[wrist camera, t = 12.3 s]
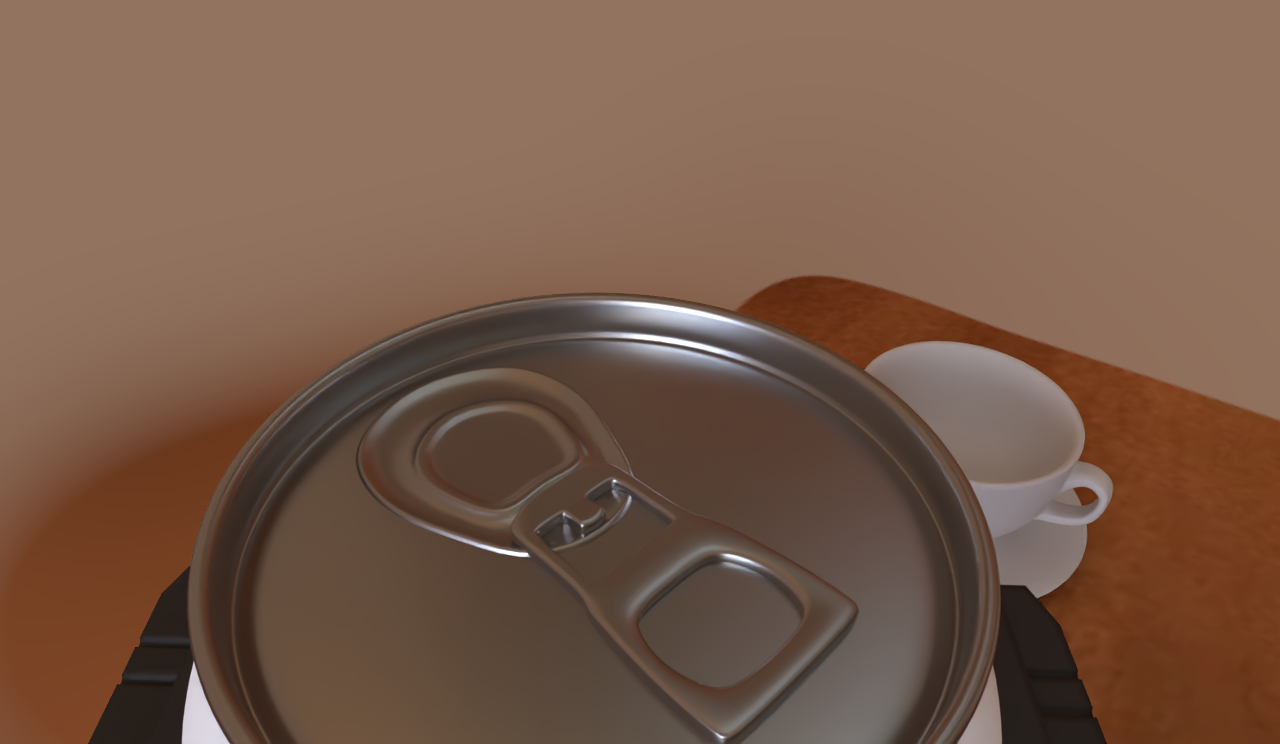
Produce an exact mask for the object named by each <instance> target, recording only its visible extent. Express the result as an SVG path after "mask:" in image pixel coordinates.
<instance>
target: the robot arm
mask: <svg viewBox="0 0 1280 744" xmlns="http://www.w3.org/2000/svg"><path fill="white" fill-rule="evenodd" d="M189 571H190V566H189V567H188V568H187V569H186V570H185V571H184V572H183V573H182V574H181V575H180V576H179V577H178V578H177V579H176V580H175V581H174V582H173V583H172V584H171V585H170V586H169V587H168V588H167V589H166V590H165V591H164V592H163V593H162V594H161V596H160V598H159V600H158V602H157V604H156V606H155V608H154V610H153V613H152V615H151V617H150V618H149V621H148V623H147V625H146V627H145V629H144V631H143V633H142V635H141V637H140V645H139V647H135V649H134V651H133V653H132V655H131V657H130V659H129V662H128V664H127V666H126V668H125V670H124V672H123V674H122V682H121V684H120V685H119V684H117V686H116V688H115V690H114V692H113V694H112V696H111V698H110V700H109V702H108V704H107V707H106V708H105V711H104V713H103V715H102V717H101V719H100V721H99V723H98V725H97V727H96V729H95V731H94V733H93V735H92V737H91V739H90V741H89V743H88V744H182V731H183V719H184V711H185V703H186V697H187V691H188V686H189V680H190V675H191V671H192V667H193V662H194V660H193V655H192V650H191V645H190V638H189V631H188V618H187V592H188V578H189ZM1000 593H1001V613H1000V626H999V635H998V641H997V648H996V652H995V657H994V661H993V667H994V672H995V677H996V683H997V690H998V697H999V704H1000V715H1001V729H1002V744H1107V743H1106V741H1105V738H1104V735H1103V733H1102V730H1101V728H1100V725H1099V723H1098V720H1097V718H1095V717H1093V715H1092V708H1093V707H1092V705H1091V702H1090V700H1089V697H1088V695H1087V692H1086V690H1085V687H1084V685H1083V682H1082V680H1080V679H1078V676H1077V672H1078V669H1077V667H1076V664H1075V662H1074V659H1073V657H1072V654H1071V652H1070V649H1069V647H1068V644H1067V641H1066V639H1065V636H1064V634H1063V631H1062V629H1061V626H1060V625H1059V623H1058V622H1057V621H1056V620H1055V619H1054V618H1053V616H1052V615H1051V614H1050V613H1049V612H1048V611H1047V610H1046V608H1045V607H1044V606H1043V605H1042V604H1041V603H1040V601H1039V600H1038V599H1037V598H1036V597H1035V596H1034V595H1033V593H1032V592H1031V591H1030V590H1029V589H1028V588H1027V586H1026V585H1000Z"/></svg>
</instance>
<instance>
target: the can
mask: <svg viewBox="0 0 1280 744" xmlns="http://www.w3.org/2000/svg"><path fill="white" fill-rule="evenodd" d="M1000 613H1001V593H1000V578H999V569H998V563H997V557H996V552H995V548H994V544H993V540H992V536H991V533H990V530H989V526H988V523H987V521H986V518H985V515H984V512H983V510H982V507H981V505H980V503H979V501H978V498H977V496H976V494H975V492H974V490H973V488H972V486H971V484H970V482H969V481H968V479H967V477H966V475H965V474H964V472H963V470H962V469H961V467H960V466H959V464H958V463H957V461H956V459H955V458H954V457H953V455H952V454H951V452H950V451H949V450H948V448H947V447H946V446H945V444H944V443H943V442H942V441H941V439H940V438H939V437H938V436H937V434H936V433H935V432H934V431H933V430H932V429H931V428H930V426H929V425H928V424H927V423H926V422H925V421H924V420H923V419H922V418H921V417H920V416H919V415H918V414H917V413H916V412H915V411H914V410H913V409H912V408H911V407H910V406H909V405H908V404H907V403H906V402H905V401H903V400H902V399H901V398H900V397H899V396H898V395H897V394H895V393H894V392H893V391H892V390H890V389H889V388H888V387H887V386H885V385H884V384H883V383H881V382H880V381H879V380H877V379H876V378H875V377H873V376H872V375H871V374H869V373H868V372H866V371H865V370H863V369H862V368H860V367H859V366H857V365H856V364H854V363H852V362H851V361H849V360H848V359H846V358H844V357H842V356H841V355H839V354H837V353H836V352H834V351H832V350H830V349H828V348H826V347H824V346H822V345H820V344H818V343H816V342H815V341H813V340H810V339H808V338H806V337H804V336H802V335H800V334H797V333H795V332H792V331H790V330H788V329H785V328H783V327H780V326H778V325H775V324H772V323H769V322H767V321H764V320H761V319H758V318H755V317H752V316H749V315H745V314H742V313H738V312H735V311H731V310H727V309H724V308H720V307H715V306H711V305H706V304H701V303H697V302H692V301H686V300H680V299H674V298H666V297H658V296H650V295H639V294H623V293H567V294H552V295H541V296H533V297H524V298H518V299H511V300H504V301H499V302H494V303H489V304H484V305H479V306H475V307H471V308H467V309H463V310H459V311H456V312H452V313H449V314H445V315H442V316H439V317H436V318H433V319H430V320H427V321H424V322H421V323H418V324H415V325H413V326H411V327H408V328H405V329H403V330H400V331H398V332H396V333H393V334H391V335H389V336H386V337H384V338H382V339H380V340H378V341H376V342H374V343H372V344H370V345H368V346H366V347H364V348H362V349H360V350H358V351H356V352H355V353H353V354H351V355H349V356H348V357H346V358H344V359H343V360H341V361H339V362H338V363H336V364H334V365H333V366H331V367H330V368H329V369H327V370H325V371H324V372H322V373H321V374H320V375H318V376H317V377H315V378H314V379H312V380H311V381H310V382H308V383H307V384H306V385H305V386H303V387H302V388H301V389H300V390H298V391H297V392H296V393H295V394H294V395H292V396H291V397H290V398H289V399H288V400H286V401H285V402H284V403H283V404H282V405H281V406H280V407H279V408H278V409H277V410H276V411H275V412H273V414H272V415H270V416H269V417H268V418H267V420H266V421H265V422H264V423H263V424H262V425H261V426H260V427H259V428H258V429H257V431H256V432H255V433H254V434H253V435H252V436H251V437H250V439H249V440H248V441H247V442H246V444H245V445H244V446H243V448H242V449H241V450H240V451H239V453H238V454H237V456H236V457H235V458H234V460H233V461H232V463H231V464H230V466H229V467H228V469H227V471H226V472H225V474H224V475H223V477H222V479H221V481H220V483H219V484H218V486H217V488H216V490H215V492H214V494H213V497H212V498H211V500H210V503H209V505H208V507H207V509H206V512H205V514H204V517H203V520H202V522H201V525H200V528H199V531H198V534H197V538H196V542H195V545H194V549H193V554H192V559H191V564H190V571H189V578H188V592H187V618H188V631H189V638H190V645H191V650H192V655H193V660H194V662H193V667H192V671H191V675H190V680H189V686H188V691H187V697H186V703H185V711H184V719H183V731H182V744H1002V729H1001V715H1000V704H999V697H998V690H997V683H996V677H995V672H994V667H993V661H994V657H995V652H996V648H997V641H998V635H999V626H1000Z"/></svg>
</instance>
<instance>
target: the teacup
mask: <svg viewBox="0 0 1280 744" xmlns="http://www.w3.org/2000/svg"><path fill="white" fill-rule="evenodd" d="M865 371H866V372H868V373H869V374H871V375H872V376H873V377H875V378H876V379H877V380H879V381H880V382H881V383H883V384H884V385H885V386H887V387H888V388H889V389H890V390H892V391H893V392H894V393H895V394H897V395H898V396H899V397H900V398H901V399H902V400H903V401H905V402H906V403H907V404H908V405H909V406H910V407H911V408H912V409H913V410H914V411H915V412H916V413H917V414H918V415H919V416H920V417H921V418H922V419H923V420H924V421H925V422H926V423H927V424H928V425H929V426H930V428H931V429H932V430H933V431H934V432H935V433H936V434H937V436H938V437H939V438H940V439H941V441H942V442H943V443H944V444H945V446H946V447H947V448H948V450H949V451H950V452H951V454H952V455H953V457H954V458H955V459H956V461H957V463H958V464H959V466H960V467H961V469H962V470H963V472H964V474H965V475H966V477H967V479H968V481H969V482H970V484H971V486H972V488H973V490H974V492H975V494H976V496H977V498H978V501H979V503H980V505H981V507H982V510H983V512H984V515H985V518H986V521H987V523H988V526H989V530H990V533H991V536H992V540H993V544H994V548H995V552H996V557H997V563H998V569H999V578H1000V585H1026V586H1027V588H1028V589H1029V590H1030V591H1031V592H1032V593H1033V595H1034V596H1035V597H1036V598H1039V597H1041V596H1043V595H1045V594H1047V593H1049V592H1051V591H1053V590H1054V589H1056V588H1057V587H1059V586H1060V585H1061V584H1062V583H1064V582H1065V581H1066V580H1067V579H1068V578H1069V577H1070V576H1071V575H1072V574H1073V572H1074V571H1075V570H1076V568H1077V567H1078V565H1079V564H1080V562H1081V560H1082V557H1083V554H1084V551H1085V548H1086V543H1087V524H1088V523H1091V522H1093V521H1095V520H1096V519H1097V518H1099V517H1100V516H1101V515H1102V514H1103V512H1104V511H1105V510H1106V508H1107V506H1108V504H1109V502H1110V500H1111V497H1112V492H1113V484H1112V481H1111V479H1110V477H1109V476H1108V475H1107V474H1106V473H1105V472H1104V471H1103V470H1101V469H1100V468H1098V467H1097V466H1095V465H1092V464H1090V463H1086V462H1081V461H1078V459H1079V457H1080V455H1081V453H1082V450H1083V447H1084V441H1085V431H1084V425H1083V421H1082V418H1081V416H1080V414H1079V412H1078V410H1077V408H1076V406H1075V405H1074V403H1073V402H1072V400H1071V399H1070V398H1069V397H1068V395H1067V394H1066V393H1065V392H1064V391H1063V390H1062V389H1061V388H1060V387H1059V386H1058V385H1057V384H1056V383H1055V382H1053V381H1052V380H1051V379H1050V378H1048V377H1047V376H1046V375H1044V374H1043V373H1041V372H1040V371H1038V370H1037V369H1035V368H1034V367H1032V366H1030V365H1028V364H1026V363H1025V362H1023V361H1021V360H1018V359H1016V358H1014V357H1012V356H1009V355H1007V354H1004V353H1001V352H999V351H996V350H992V349H989V348H985V347H981V346H977V345H972V344H967V343H960V342H949V341H927V342H918V343H912V344H907V345H903V346H900V347H897V348H894V349H892V350H889V351H887V352H885V353H883V354H882V355H880V356H878V357H877V358H876V359H874V360H873V361H872V362H871V363H870V364H869V365H868V366H867V367H866V369H865ZM1075 487H1088V488H1090V489H1092V490H1093V491H1094V492H1095V493H1096V494H1097V495H1098V498H1097V499H1096V500H1095V501H1094V502H1093V503H1091V504H1088V505H1081V503H1080V500H1079V498H1078V496H1077V495H1076V493H1075V491H1074V489H1073V488H1075Z"/></svg>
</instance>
